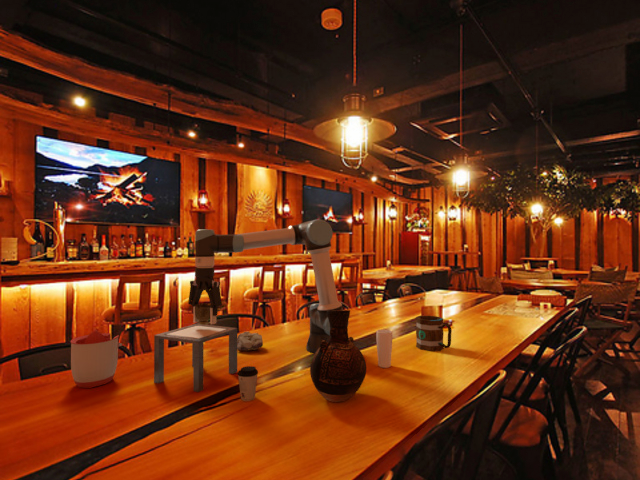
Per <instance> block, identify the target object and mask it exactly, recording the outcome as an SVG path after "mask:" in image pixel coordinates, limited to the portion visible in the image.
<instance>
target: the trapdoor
mask: <svg viewBox="0 0 640 480" xmlns="http://www.w3.org/2000/svg"><path fill="white" fill-rule="evenodd" d="M224 330H227V329H222V328H213V327H204V326H194V327H190V328H187V329H183V330H179V331H176V332H172V333H169V334H166V335H171V336H178V337H186V338H193V339H200V338H203V337H206V336H209V335H212V334H215V333H218V332H221V331H224Z"/></svg>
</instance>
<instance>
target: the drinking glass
mask: <svg viewBox="0 0 640 480" xmlns="http://www.w3.org/2000/svg"><path fill="white" fill-rule="evenodd" d="M375 337H376V350H377V363H378V364H377V365H378V367H380V368H383V369H387V368H390V367H392V366H391V365H392V363H391V361H392V349H393V331H392V330H390V329H377V330H376V336H375Z"/></svg>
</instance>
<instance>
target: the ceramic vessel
mask: <svg viewBox="0 0 640 480" xmlns="http://www.w3.org/2000/svg"><path fill="white" fill-rule="evenodd" d="M350 315H351V310H350V309H343V310H342V311H341V310H334V311H332V310H329V311H327V316H328V319H329V324H330V338H329V339H328V340H327V341H325V340H323V341H322V342H321V344H320V348H319V349H318V350H317V351H316V353H314V354H313V357H312V359H311V362H310V366H309V373H310V378H311V381H312V384H313V385H314V387H315V389H316V391H317V392H318V394H320V396H322V397H323V398H324V399H325V400H327V401H328V402H331V403H342V402H345V401H347V400H349V399H352V398H353V396H355V394H356V393H357V392H358V390H359V389H360V388H361V386H362V385H363V383H364V380H365V378H366V374H367V363H366V359H365V356H364V355H363V353H362V351H361V350H360V348H359V347H358V346H357V345H356V344H354V341H355V340H354V337H352V336H349V332H348V330H349V329H348V327H349V323H348V322H349V321H350ZM347 326H348V327H347Z"/></svg>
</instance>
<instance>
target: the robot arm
mask: <svg viewBox="0 0 640 480" xmlns="http://www.w3.org/2000/svg"><path fill="white" fill-rule="evenodd" d="M333 235H334V234H333V229H332V227H331V224H330V223H329V222H328V221H326V220H324V219H312V220H308V221H304V222H302V223H301V222H300V223H298V224H294V225H289V226H288V227H286V228H277V229H269V230H261V231H252V232H245V233H237V234H216V233H215V229H206V228H205V229H202V228H201V229H197V230H195V235H194V236H195V239H194V256H195V257H194V260H195V261H194V263H195V264H194V265H195V266H194V267H195V269H194V276H195V277H196V278H195V279H193V280H190V281H189V285H190V287H189V294H188V301H187V304H188V305H190V306H192V307H191V308H192V315H193V320H192V321H193V324H197V323H198V322H199V320H197V319H196V316H195V305H196V304H200V303H199V302H200V301H201V300H200V299H201V297H202V293H203V292H204V291H205V293H206V294H207V296H208V299H209V303H210V304H211V306H212V307H211V308H210V319H209V320H210V321H209V323H210V324H209V325H215V324H217V316H218V309H219V307H221V306H222V305H223V303H222V297H221V295H222V294H221V289H220V288H221V287H220V286H221V282H220V280H219V281H216V280H215V279H214V277H215V268H214V266H215V253H242V252H244V251H245V250H252V249H257V248H258V249H259V248H267V247H274V246H279V245H280V246H282V245H288V244H289V245H292V246H296V245H297V246H298V245H303V246H304V245H305V249H306V252H308V254H310V257H311V263H312V269H313V274H314V280H315V285H316V289H317V290H316V291H317V295H318V302H319V303H312V304H310V306H309V336H308V339H307V342H306V349H305V350H306V351H307V352H309V353H314V354H315V353H316V351H317V350H318V349H319V348H320V344H321V342H322V341H323V340H325V341H327V340H328V339H329V338H330V324H329V319H328V316H327V311H329V310H332V311H334V310H341V311H342V310H344V309H343V304H342V302H340V301H339V300H338V293H337V290H336V289H337V288H336V283H335V278H334V277H335V276H334V272H333V267H332V261H331V256H330V255H331V254H330V250H331V248H332V242H331V240H332V238H333ZM348 324H350V323H349V321H348ZM348 327H349V325H348V326H347V328H348Z"/></svg>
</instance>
